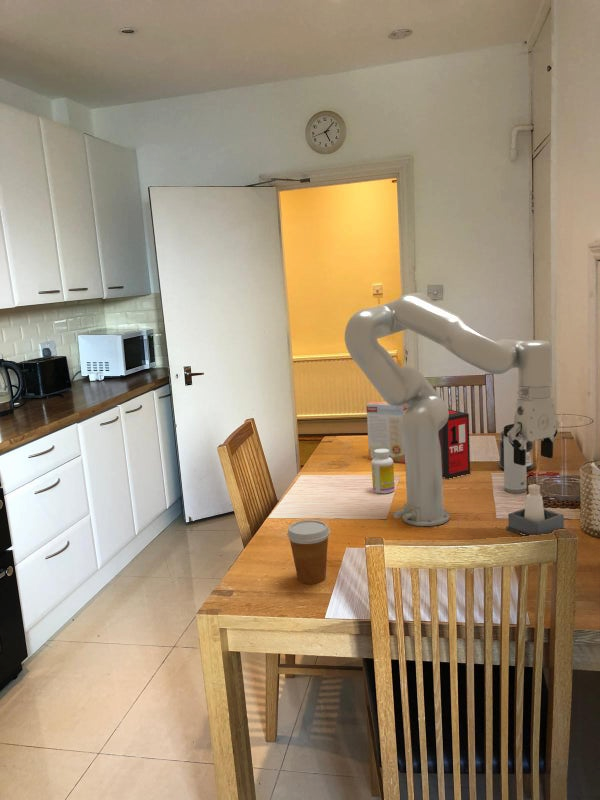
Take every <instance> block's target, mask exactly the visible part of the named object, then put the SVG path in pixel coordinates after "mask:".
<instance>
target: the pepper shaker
mask: <svg viewBox="0 0 600 800" xmlns="http://www.w3.org/2000/svg"><path fill="white" fill-rule="evenodd" d="M527 487H528V488H527V489H528V494H526V497H525V503H524V504H525V505H524V506H525V507H524V509H525V514H524V518H526V519H529V520H532V521H535V522H540V521H543V520H545V517H544V509H545V508H544V501H543V496H542V494H541V486H540V485H539V484H537V483H536V484H535V483H534V484H533V483H532V484H529V485H527Z"/></svg>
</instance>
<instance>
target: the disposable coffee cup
mask: <svg viewBox="0 0 600 800" xmlns="http://www.w3.org/2000/svg"><path fill="white" fill-rule="evenodd" d="M330 533H331V530H330V528H329V527H328V524H327V523H326V522H324V521H321V520H318V519H317V520H316V519H306V520H301V521H300V520H299V521H296V522H293V523H291V524H290V525H289V527H288V531H287V532H286V535H287V538H288V540H289V542H290V547H291V552H292V557H293V563H294V566H295V571H296V576H297V581H299V583H303V584H309V585H312V584H313V585H314V584H319V583H321V582H323V581H324V580H326V578H327V575H326V574H327V563H328V562H327V561H328V545H329V543H328V542H329V535H330Z"/></svg>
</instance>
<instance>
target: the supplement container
mask: <svg viewBox="0 0 600 800" xmlns="http://www.w3.org/2000/svg"><path fill="white" fill-rule="evenodd" d="M498 445H499V467H500V468H501V469H502V470H504V430H501V432H500V441H499V442H498ZM533 447H534V441H528V442H527V443H526V472H527V471H530V470H532V469H533V468H534V449H533Z"/></svg>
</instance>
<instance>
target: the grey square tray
mask: <svg viewBox="0 0 600 800" xmlns="http://www.w3.org/2000/svg"><path fill="white" fill-rule="evenodd" d="M524 514H525V508H523V509H519V510H516V511H513V512H510V513H508V515H507V516H508V517H507V520H508V525H507V526H506V528H505V530H507V531H509V532H512V531H514V532H513V533H515V532H518V533H522V534H525V535H524V537H526V536H529V535H541V534H549V533H552V532H553V531H554V530H558V529H566V530H567V528H565V523H564V521H565V519H564V514H563V513H558V512H556V511H552V510H550V509H547V508H544V517H545V520H543V521H540V522H535V521H532V520H529V519H526V518H524ZM518 533H517V534H518Z"/></svg>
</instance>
